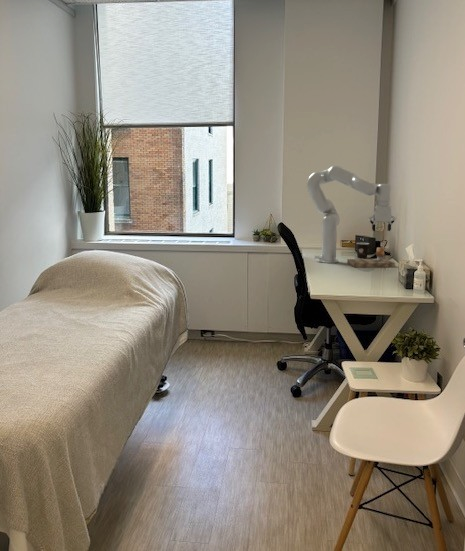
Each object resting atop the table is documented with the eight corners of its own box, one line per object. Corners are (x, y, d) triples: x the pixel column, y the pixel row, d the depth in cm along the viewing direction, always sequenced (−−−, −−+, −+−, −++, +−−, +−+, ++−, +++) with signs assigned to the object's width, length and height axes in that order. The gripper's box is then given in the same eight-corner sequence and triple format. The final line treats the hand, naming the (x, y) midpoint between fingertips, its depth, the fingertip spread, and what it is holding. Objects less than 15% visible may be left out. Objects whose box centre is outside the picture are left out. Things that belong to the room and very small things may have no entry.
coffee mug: (353, 257, 374) (353, 243, 372) (361, 256, 379) (361, 242, 377) (366, 259, 365) (367, 245, 363) (374, 258, 370) (375, 244, 368)
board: (354, 267, 336) (354, 263, 335) (347, 263, 351) (347, 259, 351) (394, 266, 337) (395, 262, 337) (386, 262, 353) (386, 258, 352)
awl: (377, 265, 342) (378, 248, 340) (374, 264, 347) (375, 247, 345) (384, 265, 342) (385, 248, 340) (381, 264, 347) (382, 247, 345)
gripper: (371, 204, 333) (369, 231, 336) (398, 204, 334) (396, 231, 337) (367, 203, 340) (366, 230, 344) (394, 203, 341) (392, 230, 345)
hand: (381, 230), depth 340 cm, fingers open, 9 cm apart
